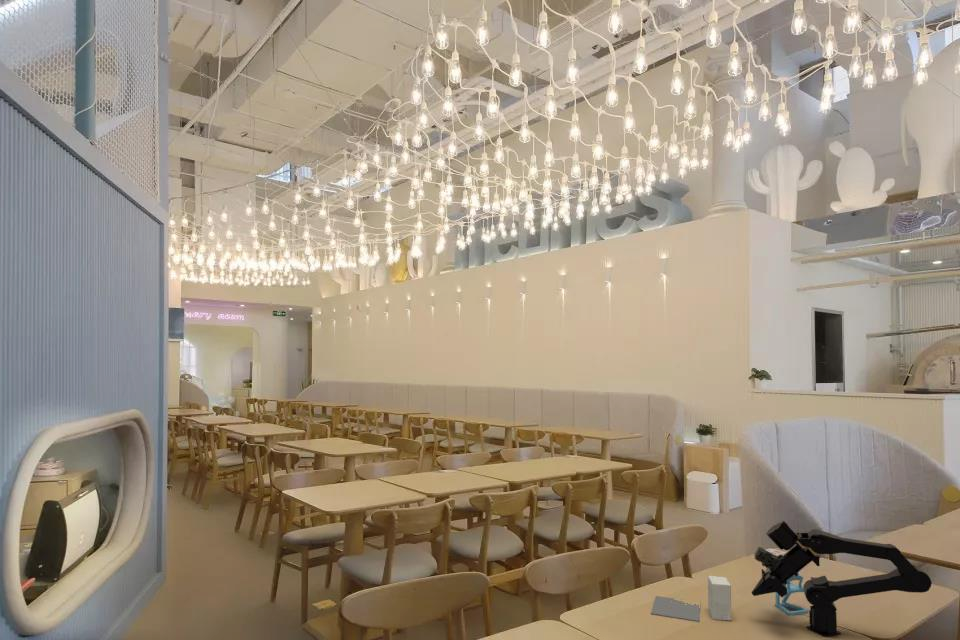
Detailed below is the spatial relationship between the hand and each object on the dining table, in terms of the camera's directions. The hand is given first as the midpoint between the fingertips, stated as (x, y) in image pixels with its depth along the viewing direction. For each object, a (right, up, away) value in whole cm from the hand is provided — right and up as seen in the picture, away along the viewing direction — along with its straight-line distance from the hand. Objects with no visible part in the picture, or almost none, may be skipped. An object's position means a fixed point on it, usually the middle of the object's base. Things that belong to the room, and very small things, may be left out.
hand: (752, 594), depth 188 cm
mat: (-21, -8, +7) cm, 23 cm away
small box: (-9, -8, +3) cm, 12 cm away
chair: (+15, -9, +9) cm, 20 cm away
